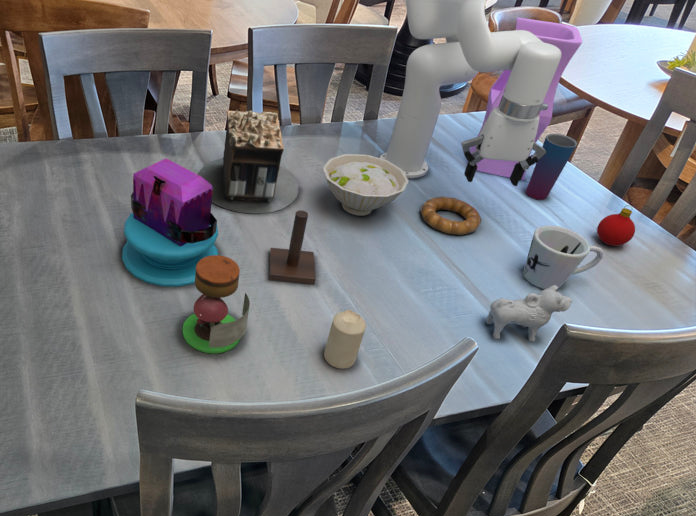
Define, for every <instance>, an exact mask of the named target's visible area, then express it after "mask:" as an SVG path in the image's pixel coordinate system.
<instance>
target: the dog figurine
mask: <svg viewBox="0 0 696 516" xmlns="http://www.w3.org/2000/svg"><path fill="white" fill-rule="evenodd" d="M557 290H559V288H558V287H557V286H556V285H553V286H551V287H549V288H547V289H543V290H541V291H540V292H539V293H538V294H536V293H534V292H530V293H528V294H527V295H526V296H525V297H523V298H518V299H509V298H504V297H503V298H502V297H501V298H498V299H495V300H494V301H492V303H491V304H490V307H489V308H490V310H489V311H488V315H487V317H486V319H485V321H486V322H485V323H486V324H487V325H493V326H494V328H493V329H494V330H493V332H492V336H493V338H494V339H498V340H499V339H501V332H502V330H503V329H504V328H505V327H506V326H507V325H508V324H510V323H513V324H516V325H519V326H520V327H521V328H527V327H528V337H527V339H528V341H529V342H536V335H537V333H538V331H539V329H540V328H542V327H544V326H546V325H547V324H548V323H549V322H550V320H551V318H552V314H553V313H555V312H556V313H558V312H559V313H560V312H563V313H564V312H566V311H568V310H569V309H570V308H571V306H572V302H573V300H572V298H571V297H570V296H564V295H563V294H562V293H561V292H560V291H557Z"/></svg>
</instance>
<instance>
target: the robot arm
mask: <svg viewBox="0 0 696 516" xmlns="http://www.w3.org/2000/svg"><path fill="white" fill-rule="evenodd" d="M486 3H487V0H405V9H406V17H407V25H408V29H409V33H410V35H411V36H412V37H413V38H414V39H417V40H434V39H435V40H437V39H445V42H438V43H430V44H429V43H428V44H425V45H422V46H419V47H417V48H416V49H414V50H413V51H412V52H411V53H410V55H409V56H408V58H407V61H406V67H405V79H404V87H403V92H402V95H401V100H400V104H399V107H398V111H397V114H396V118H395V122H394V126H393V129H392V133H391V136H390V140H389V144H388V148H387V150H386V152H384V153H382V154H381V155H380V156H379V158H380V159H384V160H387V161H389V162H390V163H392V164H394V165H395V166H397V167H399V168H400V169H402V170H403V172H404V174H405V175H406V177H407V179H418V178H421V177H424V176H425V175H426V174H427V173H428V171H429V165H428V162H426V160H425V159H426V156H427V153H428V151H429V146H430V143H431V141H432V138H433V134H434V131H435V128H436V125H437V121H438V118H439V115H440V112H441V109H442V97H441V93H440V89H441V87H443V86H448V85H450V86H451V85H458V84H463V83H469V82H470V81H472V80H473V79H475V77H476V76H477V75H478V73H481V74H482V73H493V72H500V71H503V70H512V72H511V74H510V77H509V80H508V82H507V85H506V88H505V91H504V93H503V96H502V99H501V102H500V104H499V107H498V108H494V109H493V110H492V112H491V113H490V115H489V117H488V118H487V120H486V122H485V124H484V126H483V128H482V130H481V129H480V130H481V132H480V131H479V132H480V135H479V136H478V135H477V136H478V137H477V136H476V137H473V138H469V139H467V140H463V141H462V142H461V149H462V153H463V156H464V157H465V159H466V160H467V164H466V166H465V169H464V174H463V175H464V177H465V179H466V180H467V182H468V183H472V182H473V180H474V178H475V175H476V172H477V171H476V170H477V165H476V164H477V163H478V162H480V161H481V160H483V159H484V158H485V159H493V160H504V161H519V163H516V164H515V166H514V169H513V171H512V174H511V176H510V178H509V181H510V183H511V184H512V186H513V187H517V186H518V185H519V182H521V181H522V180H521V179H522V176H523V174H524V172H525V170H526V171H527V170H529V169H530V167H532V166H533V165H536V163H537V162H538V160H539V159H540V158H541V157H542V156H543V155H544V154H545V153H546V151H545V149H544V148H543V147H542V146H541V145H540V144H538V143H537V142H536V143H535V142H534V141H535V137H536V134H537V129H538V124H539V113H540V111H542V110H547V108H548V104H546V103H543V101H544V98H545V96H546V94H547V91H548V89H549V86H550V84H551V81H552V79H553V77H554V74H555V72H556V69H557V67H558V64H559V62H560V59H561V51H560V49H559V48H558V47H556V46H554V45H551V44H548V43H544V42H542V41H541V40H540V39H539V38H538V37H536V36H535V35H534V34H532V33H531V32H529V31H526V30H516V29H514V30H502V31H492V32H491V30H490V27H489V24H488V22H487V18H486V11H485V9H486V8H485V7H486ZM473 146H475V147H476V149H477V150H476V151H474V152H473V153H470V149H471V147H473ZM531 149H532V151H534V152H533V154H530V152H531V153H532V151H531ZM529 154H530V156H529ZM528 156H529V157H528ZM525 173H526V172H525Z"/></svg>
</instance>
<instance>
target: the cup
mask: <svg viewBox="0 0 696 516" xmlns="http://www.w3.org/2000/svg"><path fill="white" fill-rule="evenodd" d="M577 145H578V141H576V139H574V138H573V137H570V136H568V135H566V134H561V133H549V134H546V136H545V138H544V141H543V144H542V146H541V147H543V148H544V149H545V151H546V153H545V154H544V155H543V156H542V157H541V158H540V159H539V160H538V162H537V163H535V164H534V168H533V171H532V173H531V176H530V179H529V181H528V184H527V187H526V190H525V194H526V196H528V197H529V198H531V199H534V200H536V201H537V200H538V201H543V200H546V199H547V198H548V196H549V195H550V194H551V191H552V190H553V188H554V186H555V184H556V182H557V181H558V179H559V178H560V175H561V174H562V172H563V170H564V168H565V167H566V165H567V163H568V161H569V159H570V158H571V156H572V154H573V153H574V151H575V149H576V148H577Z"/></svg>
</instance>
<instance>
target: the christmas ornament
mask: <svg viewBox="0 0 696 516" xmlns="http://www.w3.org/2000/svg"><path fill="white" fill-rule="evenodd" d="M626 207H630V208H633V206H632V205H630V204H629V205H628V204H627V205H625V206H624V207H622V208H621V211H620V212H619V213H613V214H609V215H607V216H605V217H603V218H602V219H601V220H600V221H599V223H598V225H597V227H596V233H597V236H598V238H599V240H600V241H601V242H603V243H604V244H606V245H608V246H611V247H616V246H617V247H618V246H624V245H625V244H627V243H629V242H630V241H631V240H632V239H633V238H634V235H635V233H636V225H635V223H634V221H633V220H632V219H631V215H632V214H633V209H629V208H626Z"/></svg>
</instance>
